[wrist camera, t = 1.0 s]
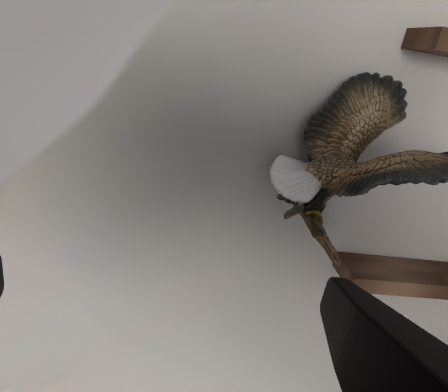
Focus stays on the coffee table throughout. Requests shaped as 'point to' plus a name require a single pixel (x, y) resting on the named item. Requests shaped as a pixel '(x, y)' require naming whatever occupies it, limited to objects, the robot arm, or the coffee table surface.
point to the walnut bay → (391, 266)
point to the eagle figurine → (351, 153)
